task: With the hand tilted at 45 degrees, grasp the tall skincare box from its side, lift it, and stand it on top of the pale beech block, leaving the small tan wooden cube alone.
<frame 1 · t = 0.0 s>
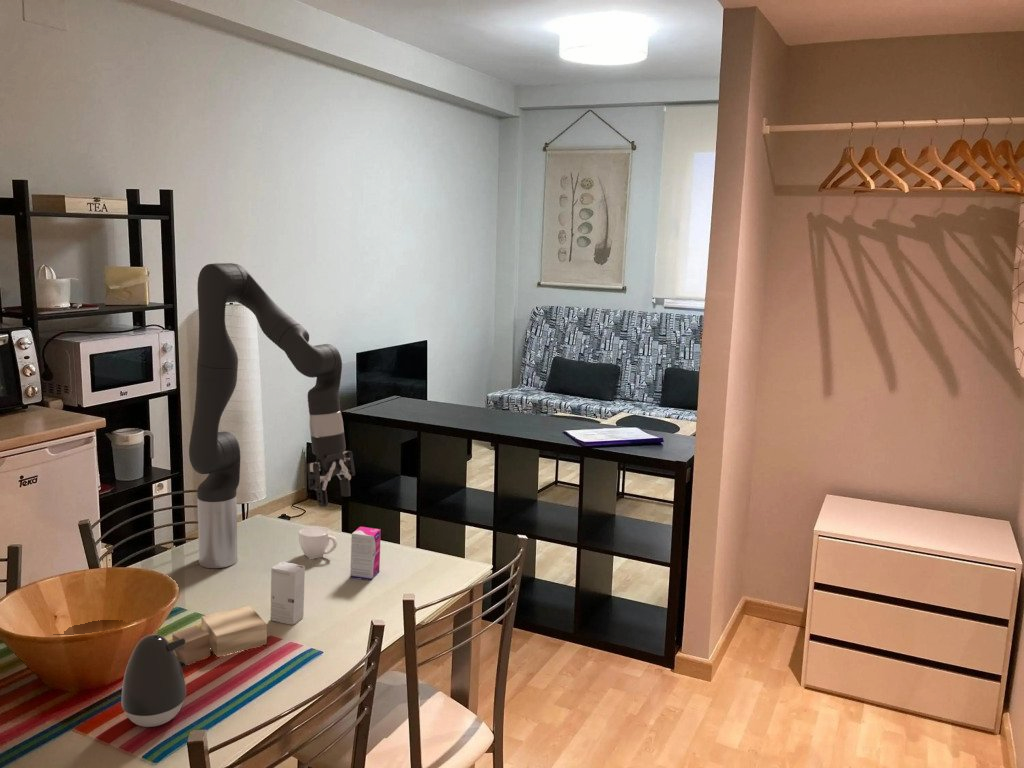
hand: (335, 501, 192), 22 cm above the table, tool pointing down, fingers open, 8 cm apart
skincare box: (287, 619, 182), on the table
tan wooden cube: (191, 657, 164), on the table
beech block: (234, 642, 171), on the table
supplement box: (365, 575, 207), on the table
cup: (318, 556, 218), on the table
pump dispenser: (155, 719, 144), on the table
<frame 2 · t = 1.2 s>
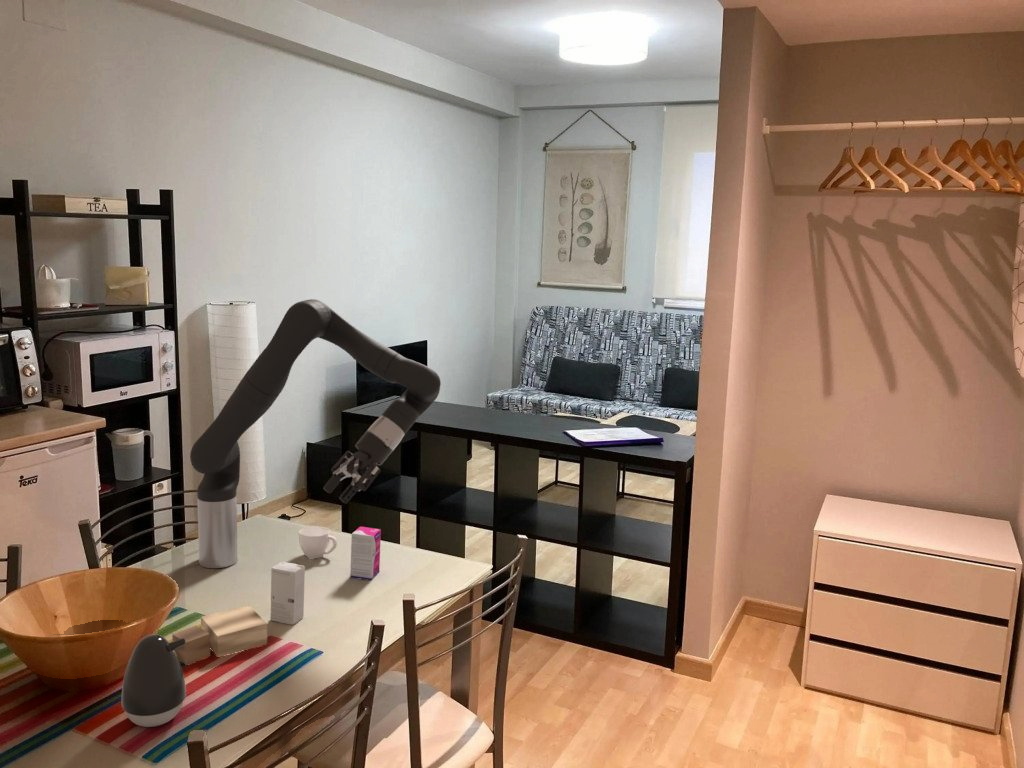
hand: (334, 496, 186), 25 cm above the table, tool tilted 45°, fingers open, 8 cm apart
nothing on the table moved.
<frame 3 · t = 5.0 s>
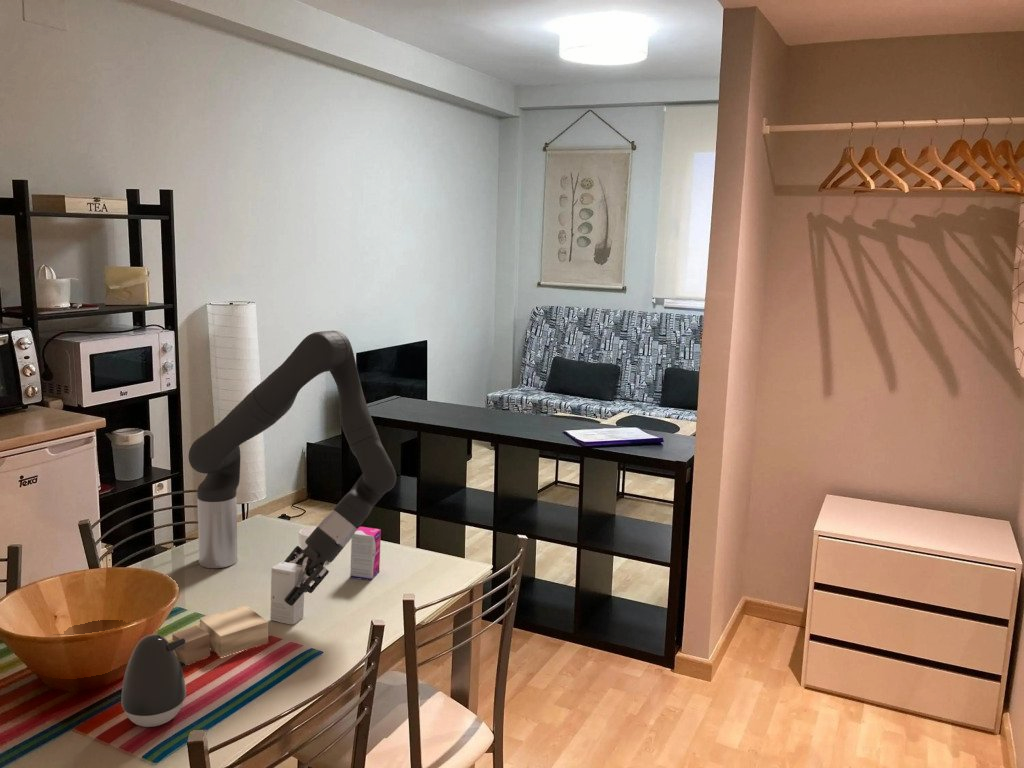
hand: (281, 596, 180), 6 cm above the table, tool tilted 45°, fingers closed on skincare box, 7 cm apart
skincare box: (287, 619, 182), on the table, touching gripper
everything else where it was.
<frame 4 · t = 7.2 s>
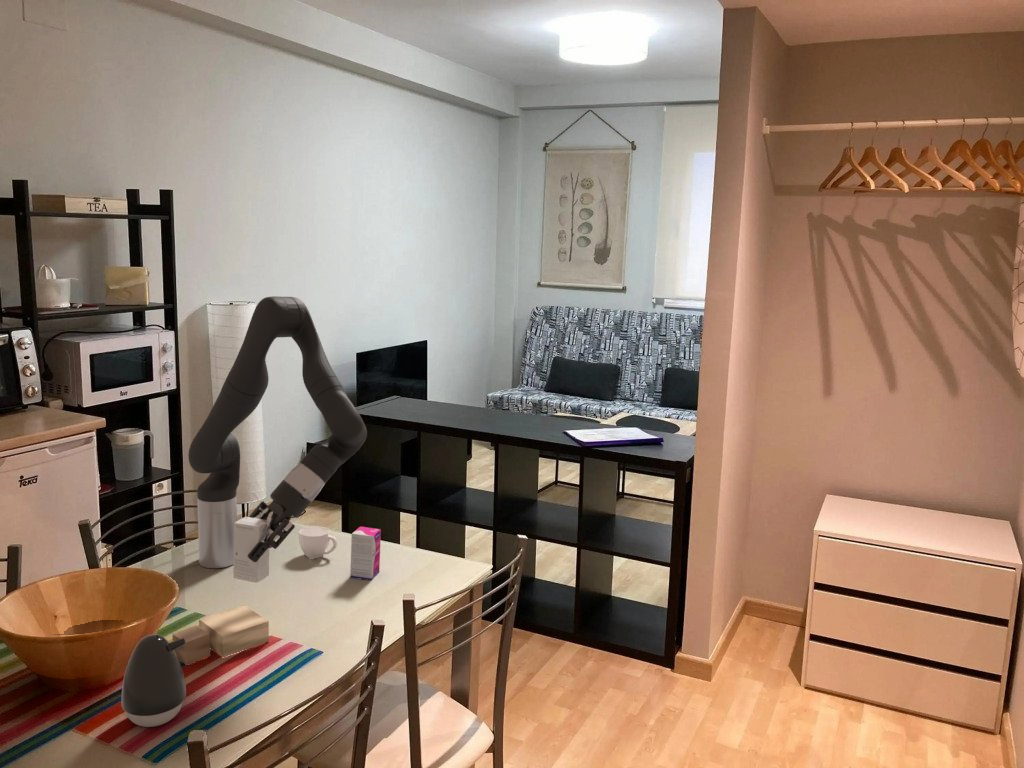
hand: (244, 553, 170), 18 cm above the table, tool tilted 45°, fingers closed on skincare box, 7 cm apart
skincare box: (252, 578, 172), point 12 cm above the table, touching gripper
everything else where it was.
when the fingers open (11 cm above the table, at t = 9.4 s): skincare box stays where it is, resting on beech block.
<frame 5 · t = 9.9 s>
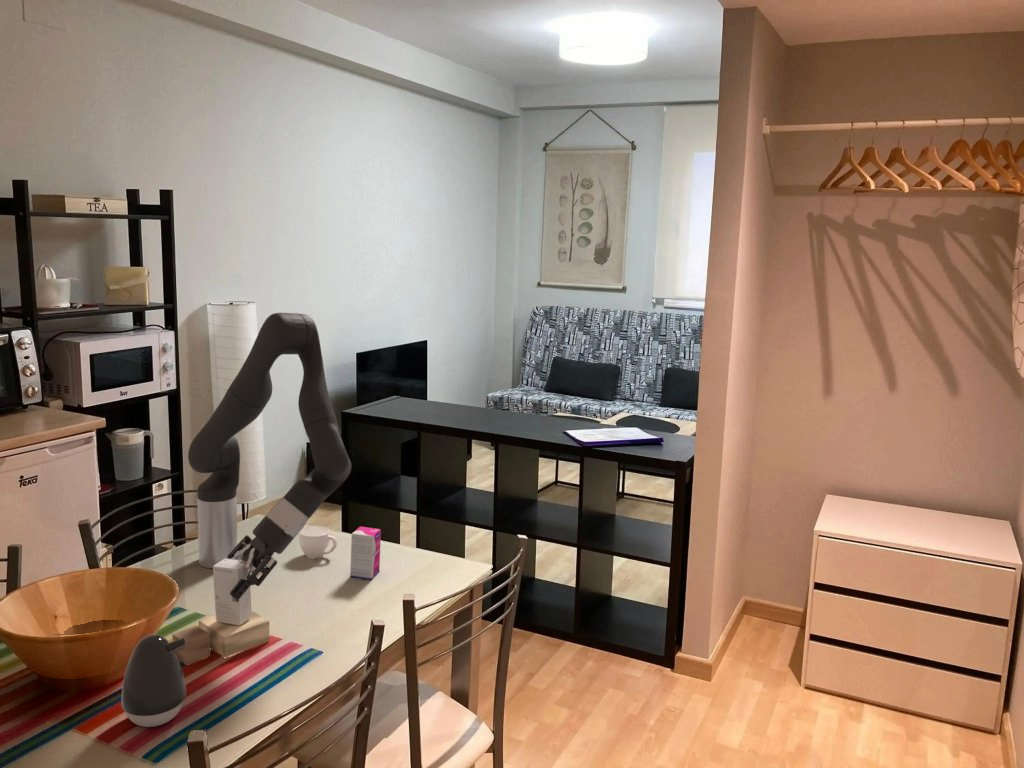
hand: (226, 589, 168), 12 cm above the table, tool tilted 45°, fingers open, 8 cm apart
skincare box: (235, 620, 171), point 5 cm above the table, touching beech block
beech block: (234, 643, 171), on the table, touching skincare box
everything else where it was.
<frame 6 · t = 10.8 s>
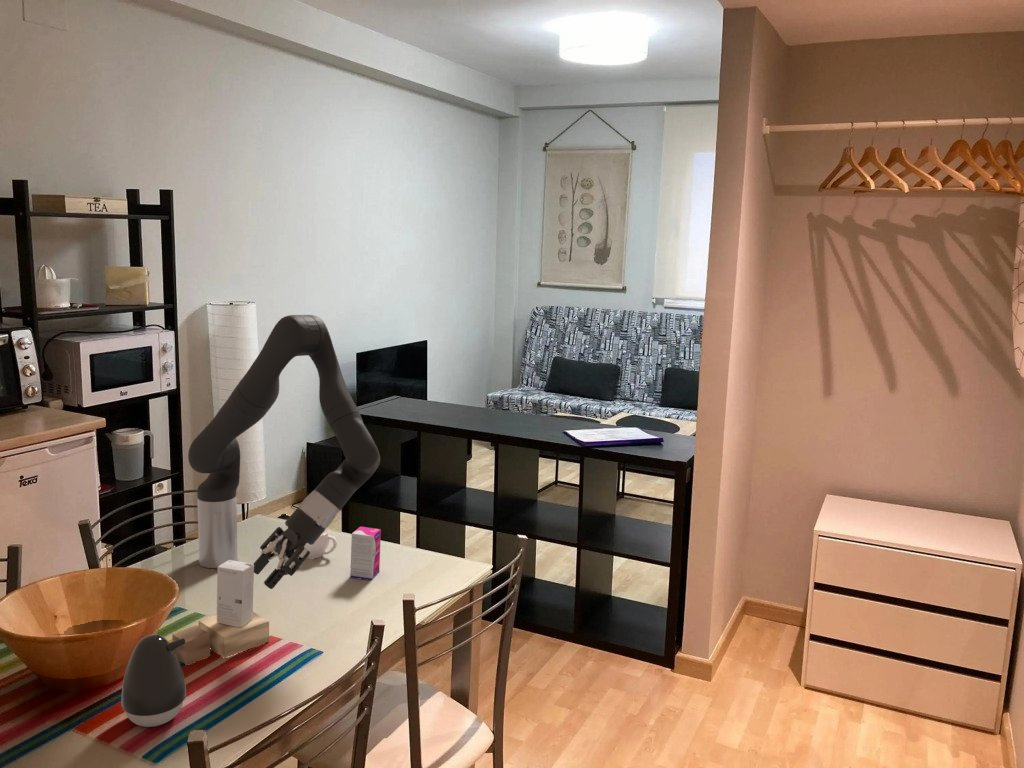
hand: (260, 579, 172), 12 cm above the table, tool tilted 45°, fingers open, 8 cm apart
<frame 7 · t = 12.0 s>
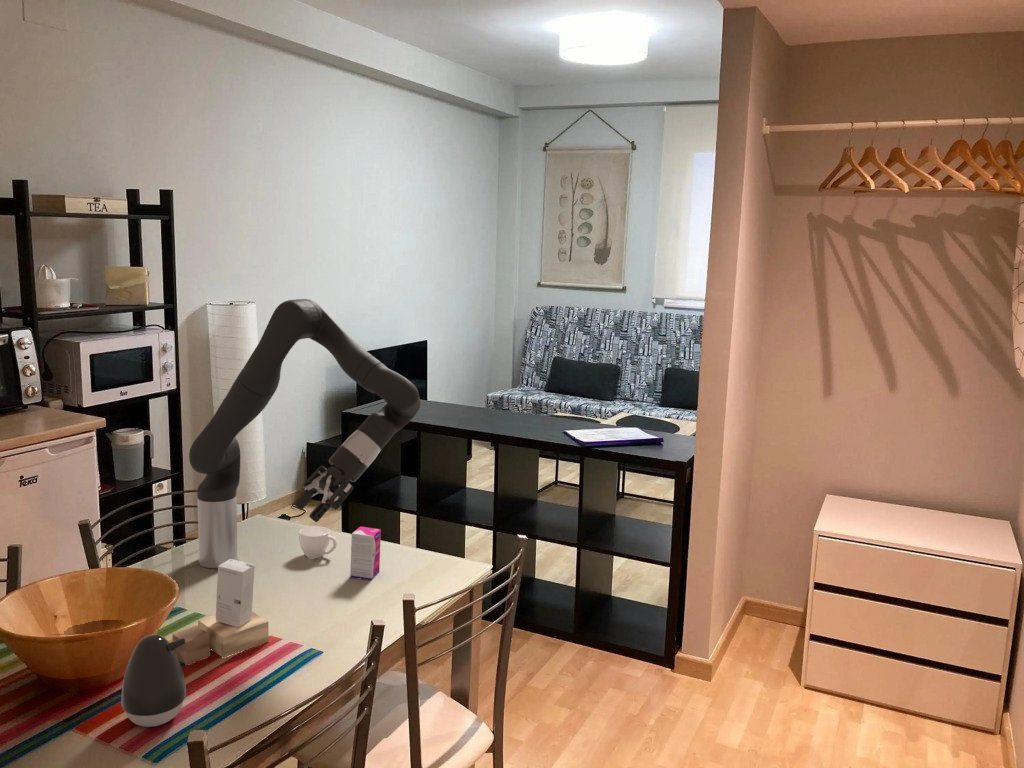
hand: (304, 513, 178), 24 cm above the table, tool tilted 45°, fingers open, 8 cm apart
skincare box: (234, 621, 170), point 5 cm above the table
beech block: (233, 643, 171), on the table
everything else where it was.
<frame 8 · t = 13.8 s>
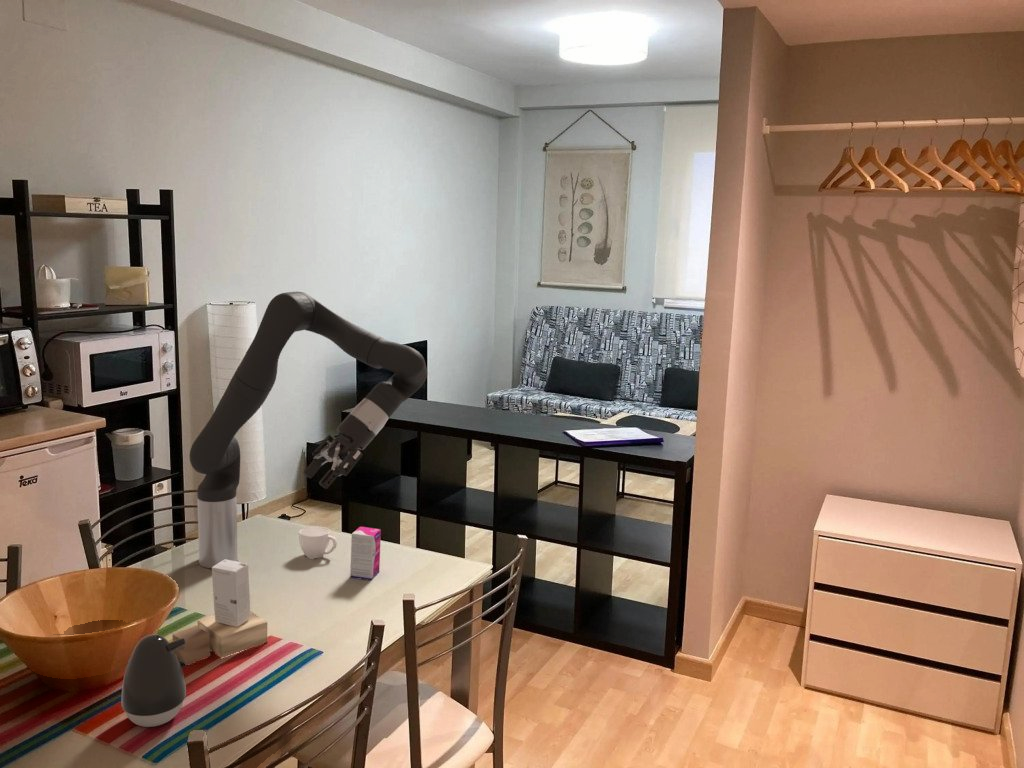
hand: (314, 481, 179), 31 cm above the table, tool tilted 45°, fingers open, 8 cm apart
skincare box: (234, 620, 170), point 5 cm above the table, touching beech block
beech block: (232, 643, 171), on the table, touching skincare box
everything else where it was.
at the end: skincare box inside the target area on the beech block (0.4 cm from its centre), point 5.0 cm above the beech block's base; skincare box tilted 4°; the gripper is holding nothing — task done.
